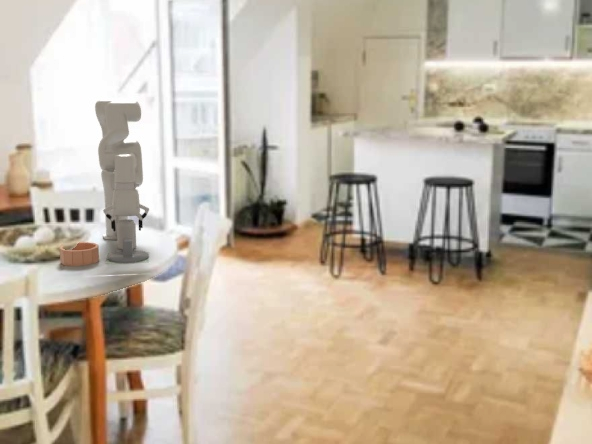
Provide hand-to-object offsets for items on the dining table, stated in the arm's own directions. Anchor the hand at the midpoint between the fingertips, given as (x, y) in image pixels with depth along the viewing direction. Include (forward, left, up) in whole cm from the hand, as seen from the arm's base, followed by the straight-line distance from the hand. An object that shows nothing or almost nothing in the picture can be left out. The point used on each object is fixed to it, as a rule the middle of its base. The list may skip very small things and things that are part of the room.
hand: (127, 230), depth 283 cm
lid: (-1, 0, -11) cm, 11 cm away
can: (-17, -1, -12) cm, 20 cm away
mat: (-1, 0, -12) cm, 12 cm away
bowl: (+1, -18, -12) cm, 22 cm away
